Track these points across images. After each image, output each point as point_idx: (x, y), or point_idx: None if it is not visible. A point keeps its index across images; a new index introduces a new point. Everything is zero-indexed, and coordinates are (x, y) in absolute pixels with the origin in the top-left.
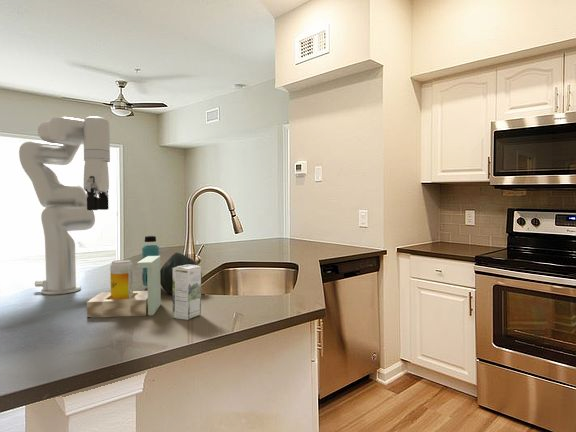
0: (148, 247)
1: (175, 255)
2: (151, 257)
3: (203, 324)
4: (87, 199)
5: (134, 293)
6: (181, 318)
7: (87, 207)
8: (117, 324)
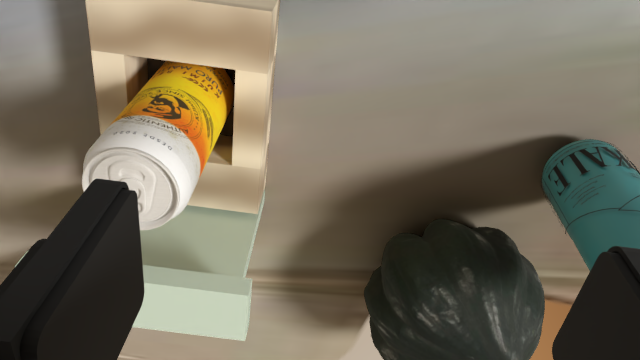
0: None
1: None
2: (187, 310)
3: None
4: (4, 308)
5: (232, 149)
6: None
7: (83, 202)
8: (29, 93)
